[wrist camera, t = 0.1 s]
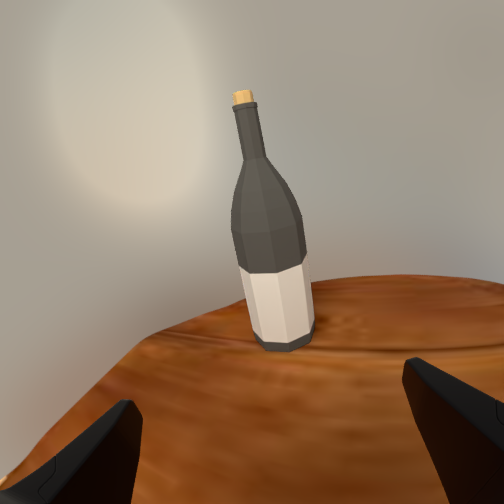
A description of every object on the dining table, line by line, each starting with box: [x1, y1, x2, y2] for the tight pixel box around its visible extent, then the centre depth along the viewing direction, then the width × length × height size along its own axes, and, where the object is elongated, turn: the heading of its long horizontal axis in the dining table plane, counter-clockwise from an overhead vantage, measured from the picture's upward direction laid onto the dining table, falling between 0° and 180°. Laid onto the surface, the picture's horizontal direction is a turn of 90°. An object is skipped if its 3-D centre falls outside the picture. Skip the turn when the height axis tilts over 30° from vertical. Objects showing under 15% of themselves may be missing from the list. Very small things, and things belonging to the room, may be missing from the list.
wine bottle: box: [231, 90, 315, 352], centre depth 34 cm, size 8×8×30 cm
